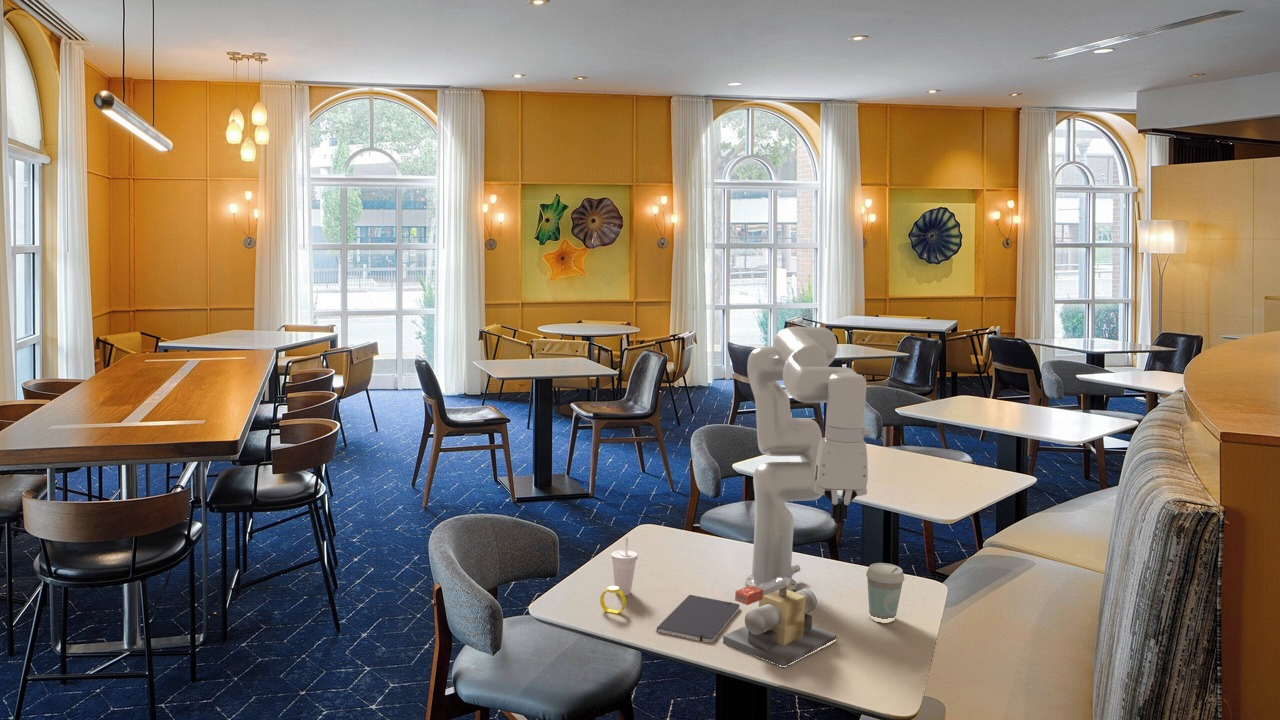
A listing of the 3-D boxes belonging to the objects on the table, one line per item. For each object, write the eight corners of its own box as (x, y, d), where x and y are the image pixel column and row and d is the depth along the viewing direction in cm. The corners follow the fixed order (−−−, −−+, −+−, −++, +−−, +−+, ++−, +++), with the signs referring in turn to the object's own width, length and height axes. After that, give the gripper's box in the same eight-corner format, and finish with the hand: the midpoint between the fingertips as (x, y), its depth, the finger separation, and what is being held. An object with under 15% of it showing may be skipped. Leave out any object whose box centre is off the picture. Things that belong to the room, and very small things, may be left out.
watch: (599, 613, 214) (598, 588, 213) (604, 609, 216) (603, 584, 216) (623, 616, 211) (622, 591, 211) (627, 612, 214) (627, 586, 213)
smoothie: (625, 599, 221) (627, 542, 219) (604, 592, 225) (606, 536, 223) (641, 591, 226) (643, 536, 224) (620, 585, 230) (622, 530, 228)
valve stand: (776, 618, 213) (779, 566, 212) (836, 641, 202) (839, 586, 200) (723, 642, 200) (725, 586, 198) (783, 668, 189) (787, 609, 187)
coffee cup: (880, 628, 210) (884, 577, 208) (855, 614, 217) (858, 564, 216) (909, 622, 214) (913, 572, 212) (883, 608, 221) (887, 560, 220)
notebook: (689, 600, 223) (656, 634, 204) (689, 594, 223) (656, 627, 204) (740, 610, 219) (711, 646, 199) (740, 604, 218) (711, 639, 199)
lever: (781, 582, 202) (781, 573, 201) (793, 586, 199) (793, 578, 199) (735, 600, 191) (735, 591, 190) (747, 605, 188) (747, 595, 188)
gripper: (876, 431, 192) (870, 517, 195) (803, 429, 192) (798, 515, 195) (885, 439, 185) (879, 528, 187) (810, 437, 185) (804, 526, 187)
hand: (838, 521), depth 191 cm, fingers closed
